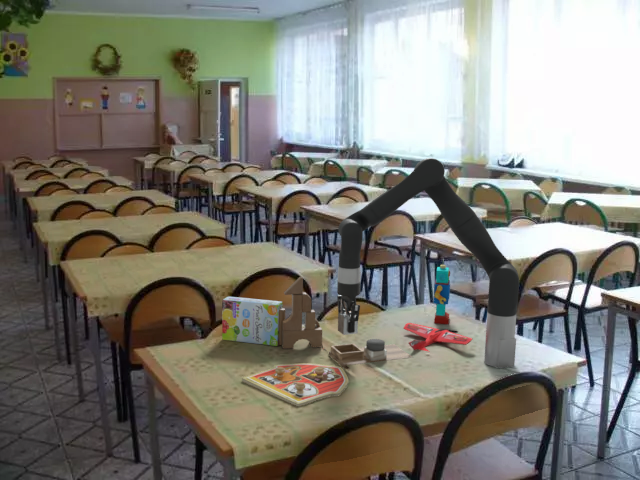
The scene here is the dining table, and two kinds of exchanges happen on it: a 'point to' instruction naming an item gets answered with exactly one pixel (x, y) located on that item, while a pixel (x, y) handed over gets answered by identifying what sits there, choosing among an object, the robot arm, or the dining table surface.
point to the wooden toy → (299, 319)
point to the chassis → (364, 354)
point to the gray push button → (375, 344)
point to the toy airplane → (434, 336)
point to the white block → (345, 324)
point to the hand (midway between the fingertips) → (347, 329)
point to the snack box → (251, 320)
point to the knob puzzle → (300, 382)
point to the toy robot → (441, 294)
